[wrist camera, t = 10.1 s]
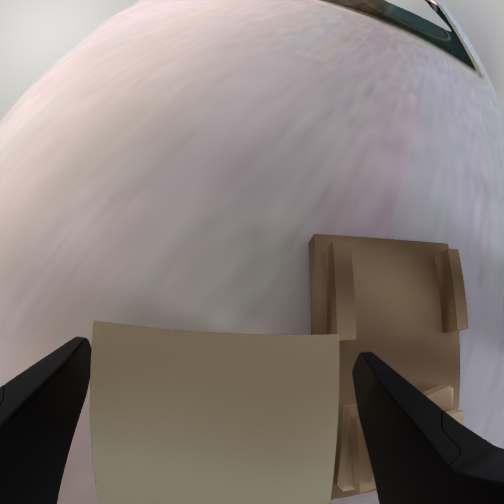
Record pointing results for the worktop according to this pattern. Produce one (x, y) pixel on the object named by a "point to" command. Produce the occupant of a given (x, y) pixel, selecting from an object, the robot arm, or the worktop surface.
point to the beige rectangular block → (212, 416)
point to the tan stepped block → (387, 328)
